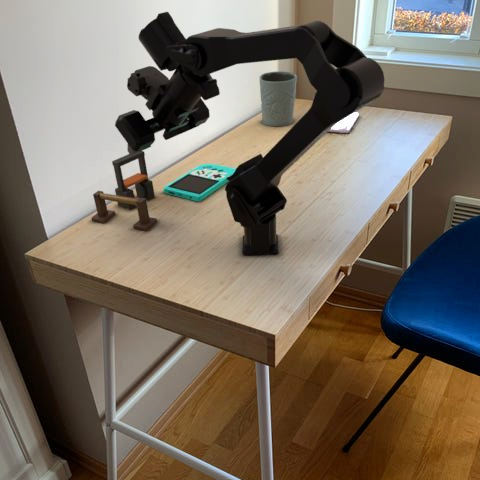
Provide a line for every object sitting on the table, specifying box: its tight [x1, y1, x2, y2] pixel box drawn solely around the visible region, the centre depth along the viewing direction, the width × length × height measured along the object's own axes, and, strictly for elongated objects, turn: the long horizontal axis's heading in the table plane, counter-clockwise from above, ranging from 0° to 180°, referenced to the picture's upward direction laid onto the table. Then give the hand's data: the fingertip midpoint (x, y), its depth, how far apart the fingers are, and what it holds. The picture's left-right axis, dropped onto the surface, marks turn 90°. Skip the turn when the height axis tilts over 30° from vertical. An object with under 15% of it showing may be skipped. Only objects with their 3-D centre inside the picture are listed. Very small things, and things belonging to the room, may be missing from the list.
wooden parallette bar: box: [91, 190, 158, 232], centre depth 104 cm, size 13×4×6 cm, turn 66°
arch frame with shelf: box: [111, 150, 156, 211], centre depth 110 cm, size 7×4×10 cm, turn 141°
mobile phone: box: [327, 112, 360, 134], centre depth 144 cm, size 8×1×15 cm
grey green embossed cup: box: [259, 70, 298, 127], centre depth 145 cm, size 10×10×12 cm
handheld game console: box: [163, 163, 236, 202], centre depth 118 cm, size 10×16×1 cm, turn 148°
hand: (147, 145), depth 101 cm, fingers open, 9 cm apart
